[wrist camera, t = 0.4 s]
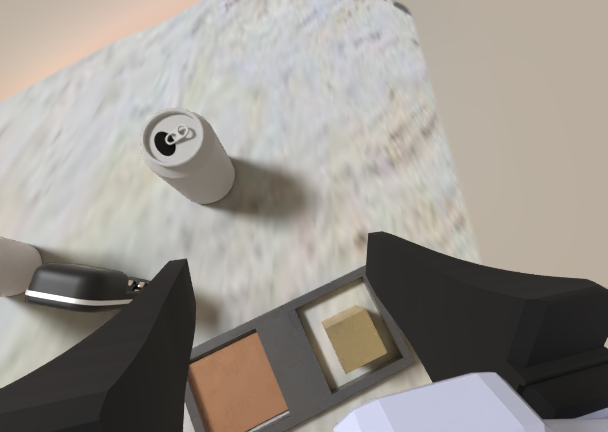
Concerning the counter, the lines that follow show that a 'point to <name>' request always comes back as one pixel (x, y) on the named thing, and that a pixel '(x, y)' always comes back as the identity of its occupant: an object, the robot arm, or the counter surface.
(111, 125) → the counter surface
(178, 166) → the can
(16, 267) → the coffee cup
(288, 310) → the gray rectangular frame
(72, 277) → the battery charger
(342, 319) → the brass block
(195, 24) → the counter surface
